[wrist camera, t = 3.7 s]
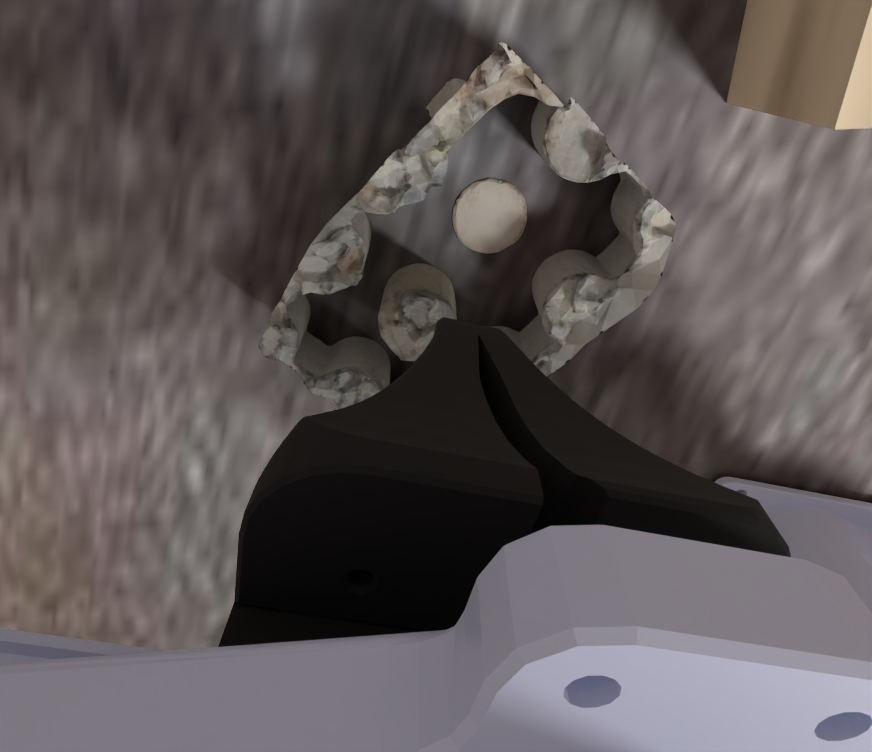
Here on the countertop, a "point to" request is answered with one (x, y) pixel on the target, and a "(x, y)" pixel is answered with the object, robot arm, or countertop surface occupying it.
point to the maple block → (806, 61)
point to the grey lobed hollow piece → (474, 244)
